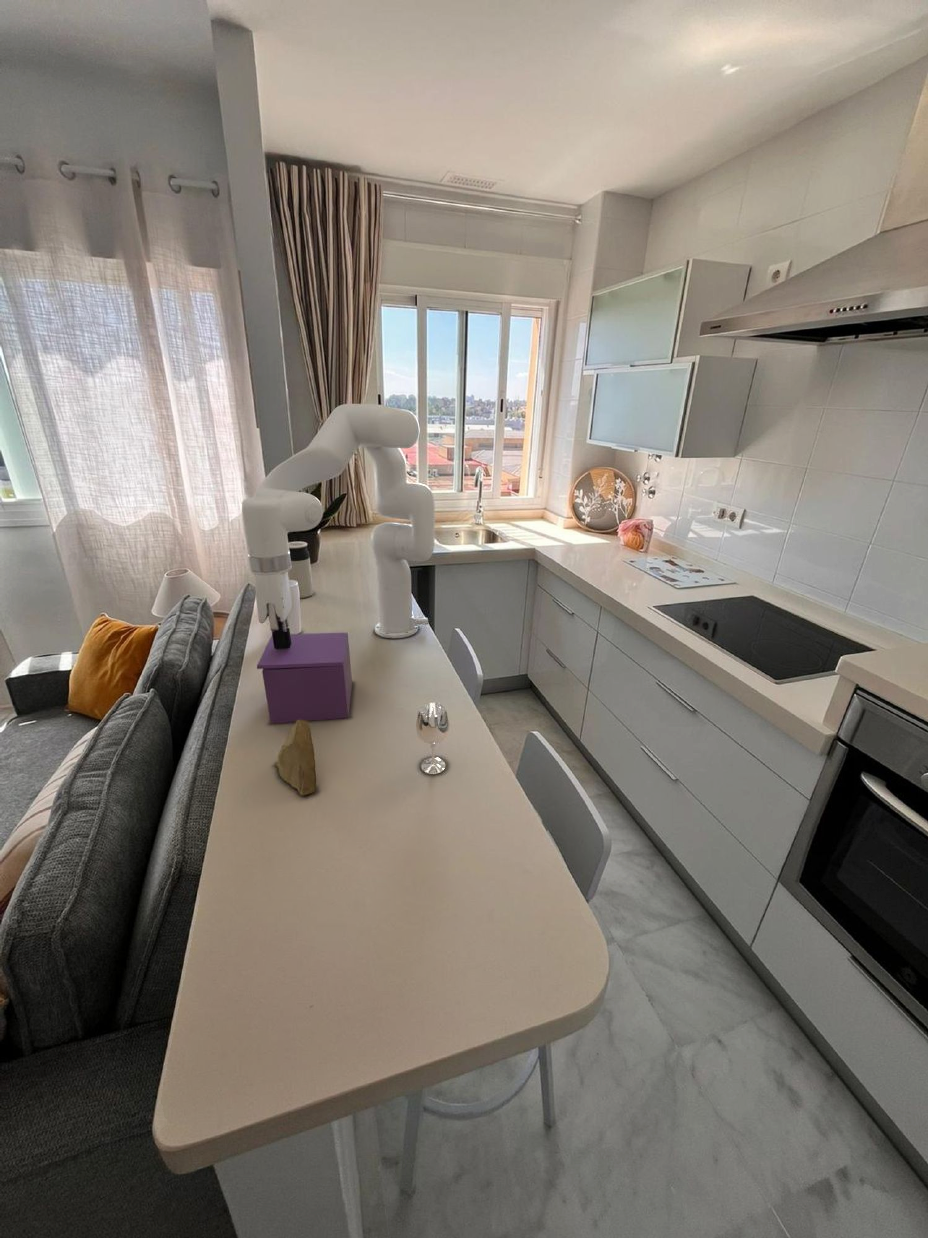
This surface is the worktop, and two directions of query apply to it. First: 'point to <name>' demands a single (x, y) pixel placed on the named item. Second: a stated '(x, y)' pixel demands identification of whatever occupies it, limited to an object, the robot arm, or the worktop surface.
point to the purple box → (308, 692)
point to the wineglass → (432, 733)
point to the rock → (298, 759)
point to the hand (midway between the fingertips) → (283, 646)
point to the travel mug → (300, 568)
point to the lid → (306, 651)
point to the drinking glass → (294, 609)
